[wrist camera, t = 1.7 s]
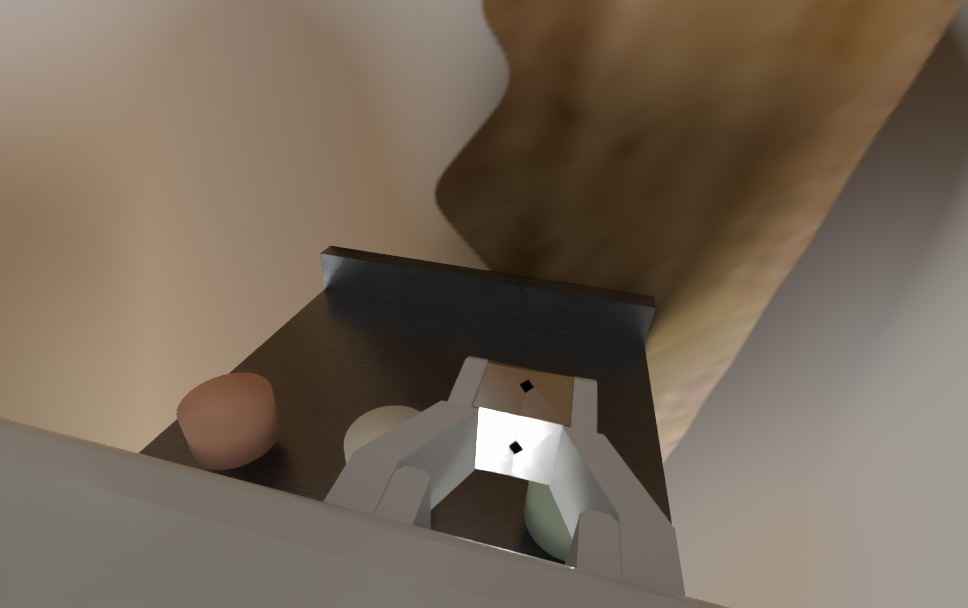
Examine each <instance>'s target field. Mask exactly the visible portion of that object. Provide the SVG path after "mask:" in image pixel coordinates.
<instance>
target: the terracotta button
mask: <svg viewBox="0 0 968 608" xmlns="http://www.w3.org/2000/svg"><path fill="white" fill-rule="evenodd" d="M177 419H178V422H179V424H180V426H181V429H182V431H183V433H184V436H185V438H186V440H187V443H188V445H189V448H190V450H191V452H192V455H193V457H194V459H195V460H196V462H197V463H198V464H200V465H201V466H203V467H206V468H209V469H214V470H226V469H232V468H237V467H240V466H243V465H246V464H248V463H250V462H252V461H254V460H256V459H258V458H259V457H261V456H262V455H264V454H265V453H266V452H267V451H269V450H270V449H271V448H272V446H273V445H274V444H275V443H276V441H277V440H278V438H279V436H280V433H281V421H280V418H279V414H278V410H277V406H276V402H275V398H274V394H273V390H272V386H271V384H270V382H269V381H268V380H267V379H266V378H264V377H262V376H260V375H257V374H254V373H231V374H226V375H222V376H219V377H216V378H213V379H210V380H208V381H206V382H204V383H202V384H200V385H199V386H197V387H196V388H194V389H193V390H191V391H190V392H189V393H188V394H187V395H186V396H185V397H184V398H183V399H182V401H181V403H180V404H179V406H178V409H177Z"/></svg>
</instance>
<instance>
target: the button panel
mask: <svg viewBox="0 0 968 608" xmlns="http://www.w3.org/2000/svg"><path fill="white" fill-rule="evenodd" d="M320 257H321V264H322V271H323V277H324V283H325V289H324V290H323V291H322V292H321V293H320V294H319V295H318V296H316V297H315V298H314V299H313V300H312V301H311V302H310V303H309V304H307V305H306V306H305V307H304V308H303V309H302V310H301V311H299V312H298V313H297V314H296V315H295V316H294V317H293V318H291V319H290V320H289V321H288V322H287V323H286V324H285V325H284V326H282V327H281V328H280V329H279V330H278V331H277V332H276V333H274V334H273V335H272V336H271V337H270V338H269V339H268V340H267V341H266V342H264V343H263V344H262V345H261V346H260V347H259V348H257V349H256V350H255V351H254V352H253V353H252V354H251V355H249V356H248V357H247V358H246V359H245V360H244V361H243V362H242V363H240V364H239V365H238V366H237V367H236V368H235V369H234V370H232V371H231V372H230V373H229V374H231V373H254V374H257V375H260V376H262V377H264V378H266V379H267V380H268V381H269V382H270V384H271V386H272V390H273V394H274V398H275V402H276V406H277V410H278V414H279V418H280V421H281V433H280V436H279V438H278V440H277V441H276V443H275V444H274V445H273V446H272V448H271V449H270V450H269V451H267V452H266V453H265V454H264V455H262V456H261V457H259V458H258V459H256V460H254V461H252V462H250V463H248V464H246V465H243V466H240V467H237V468H232V469H226V470H214V469H209V468H206V467H203V466H201V465H200V464H198V463H197V462H196V460H195V459H194V457H193V455H192V452H191V450H190V448H189V445H188V443H187V440H186V438H185V436H184V433H183V431H182V429H181V426H180V424H179V422H178V419H177V420H176V421H175V422H173V423H172V424H171V425H170V426H169V427H168V428H167V429H166V430H164V431H163V432H162V433H161V434H160V435H159V436H158V437H156V438H155V439H154V440H153V441H152V442H151V443H150V444H148V445H147V446H146V447H145V448H144V449H143V450H142V451H141V452H139V454H143V455H147V456H151V457H154V458H158V459H162V460H166V461H170V462H174V463H177V464H181V465H185V466H189V467H193V468H196V469H200V470H204V471H208V472H212V473H216V474H219V475H223V476H227V477H231V478H235V479H239V480H242V481H246V482H250V483H254V484H258V485H262V486H265V487H269V488H273V489H277V490H281V491H284V492H288V493H292V494H296V495H300V496H304V497H307V498H311V499H315V500H319V501H324V500H325V498H326V496H327V495H328V493H329V492H330V490H331V488H332V487H333V485H334V483H335V482H336V480H337V478H338V477H339V475H340V474H341V472H342V470H343V469H344V467H345V465H346V460H345V453H344V438H345V435H346V433H347V431H348V429H349V427H350V426H351V425H352V424H353V423H354V422H355V421H356V420H357V419H358V418H359V417H360V416H362V415H363V414H365V413H367V412H369V411H371V410H373V409H376V408H380V407H384V406H393V405H398V406H406V407H410V408H413V409H416V410H418V411H420V412H422V411H424V410H426V409H427V408H429V407H431V406H433V405H434V404H436V403H438V402H439V401H446V402H447V401H448V399H449V396H450V394H451V392H452V389H453V387H454V385H455V383H456V380H457V378H458V376H459V373H460V371H461V369H462V366H463V364H464V362H465V359H466V358H467V357H468V356H472V357H476V358H481V359H486V360H492V361H497V362H501V363H506V364H511V365H515V366H520V367H525V368H529V369H533V370H539V371H544V372H549V373H555V374H560V375H566V376H571V377H580V378H586V379H592V380H596V382H597V433H598V434H603V435H605V437H606V438H607V439H608V441H609V442H610V443H611V445H612V446H613V447H614V449H615V450H616V451H617V453H618V454H619V455H620V457H621V458H622V459H623V461H624V462H625V463H626V465H627V466H628V467H629V469H630V470H631V471H632V472H633V474H634V475H635V476H636V478H637V479H638V480H639V482H640V483H641V484H642V486H643V487H644V488H645V490H646V491H647V492H648V494H649V495H650V496H651V498H652V499H653V500H654V502H655V503H656V504H657V506H658V507H659V508H660V510H661V511H662V512H663V514H664V515H665V516H666V518H667V519H668V520H669V522H670V523H671V524H672V522H671V516H670V509H669V503H668V496H667V489H666V483H665V476H664V470H663V463H662V457H661V450H660V444H659V437H658V431H657V424H656V418H655V411H654V405H653V398H652V392H651V385H650V379H649V372H648V366H647V359H646V353H645V346H644V344H645V341H646V338H647V335H648V332H649V329H650V325H651V322H652V319H653V316H654V313H655V310H656V306H655V301H654V297H650V296H644V295H638V294H632V293H625V292H619V291H613V290H606V289H600V288H594V287H587V286H581V285H575V284H568V283H562V282H556V281H550V280H543V279H537V278H531V277H524V276H518V275H512V274H505V273H499V272H493V271H487V270H480V269H474V268H468V267H461V266H455V265H449V264H441V263H436V262H430V261H423V260H417V259H411V258H405V257H398V256H392V255H386V254H379V253H373V252H367V251H360V250H354V249H348V248H341V247H335V246H329V247H328V248H327V249H325V250H324V251H323V252H322V253H320ZM528 483H529V480H526V479H522V478H518V477H514V476H510V475H505V474H500V473H496V472H491V471H486V470H481V469H476V468H474V471H473V472H472V473H471V474H470V475H469V476H467V477H466V478H465V479H464V480H463V481H462V482H461V483H460V484H459V485H458V486H457V487H455V488H454V489H453V490H452V491H451V492H450V493H449V494H448V495H447V496H446V497H445V498H444V499H442V500H441V501H440V502H439V503H438V504H437V505H436V506H435V507H434V508H433V509H432V510H431V530H434V531H437V532H441V533H445V534H449V535H453V536H457V537H460V538H464V539H468V540H472V541H476V542H479V543H483V544H487V545H491V546H495V547H499V548H502V549H506V550H510V551H514V552H518V553H521V554H525V555H529V556H533V557H537V558H540V559H544V560H548V561H552V562H556V563H560V564H563V565H565V562H566V561H563V560H560V559H558V558H556V557H554V556H552V555H550V554H549V553H547V552H546V551H545V550H543V549H542V548H541V547H540V546H539V545H538V544H537V543H536V542H535V540H534V539H533V538H532V536H531V535H530V533H529V531H528V529H527V526H526V523H525V518H524V505H525V500H526V494H527V489H528Z"/></svg>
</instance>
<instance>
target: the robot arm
mask: <svg viewBox="0 0 968 608" xmlns="http://www.w3.org/2000/svg"><path fill="white" fill-rule="evenodd" d="M474 468H476V469H481V470H486V471H491V472H496V473H500V474H505V475H510V476H514V477H518V478H522V479H526V480H530V481H533V482H537V483H541V484H545V485H549V486H550V487H549V488H550V490H551V492H552V495H553V497H554V499H555V501H556V504H557V506H558V508H559V510H560V513H561V515H562V517H563V519H564V522H565V524H566V526H567V528H568V531H569V533H570V535H571V537H572V542H571V545H570V549H569V552H568V556H567V559H566V562H565V565H563V564H560V563H556V562H552V561H548V560H544V559H540V558H537V557H533V556H529V555H525V554H521V553H518V552H514V551H510V550H506V549H502V548H499V547H495V546H491V545H487V544H483V543H479V542H476V541H472V540H468V539H464V538H460V537H457V536H453V535H449V534H445V533H441V532H437V531H434V530H431V510H432V509H433V508H434V507H435V506H436V505H437V504H438V503H439V502H440V501H441V500H442V499H444V498H445V497H446V496H447V495H448V494H449V493H450V492H451V491H452V490H453V489H454V488H455V487H457V486H458V485H459V484H460V483H461V482H462V481H463V480H464V479H465V478H466V477H467V476H469V475H470V474H471V473H472V472H473V471H474ZM0 608H728V607H724V606H721V605H717V604H713V603H709V602H705V601H702V600H698V599H694V598H690V597H686V596H685V591H684V585H683V578H682V572H681V566H680V559H679V553H678V546H677V540H676V533H675V528H674V527H673V526H672V524H671V523H670V522H669V520H668V519H667V518H666V516H665V515H664V514H663V512H662V511H661V510H660V508H659V507H658V506H657V504H656V503H655V502H654V500H653V499H652V498H651V496H650V495H649V494H648V492H647V491H646V490H645V488H644V487H643V486H642V484H641V483H640V482H639V480H638V479H637V478H636V476H635V475H634V474H633V472H632V471H631V470H630V469H629V467H628V466H627V465H626V463H625V462H624V461H623V459H622V458H621V457H620V455H619V454H618V453H617V451H616V450H615V449H614V447H613V446H612V445H611V443H610V442H609V441H608V439H607V438H606V437H605V435H603V434H598V433H597V382H596V380H592V379H586V378H580V377H571V376H566V375H560V374H555V373H549V372H544V371H539V370H533V369H529V368H525V367H520V366H515V365H511V364H506V363H501V362H497V361H492V360H486V359H481V358H476V357H472V356H468V357H467V358H466V359H465V362H464V364H463V366H462V369H461V371H460V373H459V376H458V378H457V380H456V383H455V385H454V387H453V389H452V392H451V394H450V396H449V399H448V401H447V402H446V401H439V402H438V403H436V404H434V405H433V406H431V407H429V408H427V409H426V410H424V411H422V412H421V413H419V414H417V415H415V416H414V417H412V418H410V419H409V420H407V421H405V422H403V423H402V424H400V425H398V426H397V427H395V428H393V429H391V430H390V431H388V432H386V433H385V434H383V435H381V436H379V437H378V438H376V439H374V440H373V441H371V442H369V443H367V444H366V445H364V446H362V447H361V448H359V449H357V450H356V451H354V452H353V454H352V456H351V457H350V459H349V461H348V462H347V464H346V465H345V467H344V469H343V470H342V472H341V474H340V475H339V477H338V478H337V480H336V482H335V483H334V485H333V487H332V488H331V490H330V492H329V493H328V495H327V496H326V498H325V500H324V501H319V500H315V499H311V498H307V497H304V496H300V495H296V494H292V493H288V492H284V491H281V490H277V489H273V488H269V487H265V486H262V485H258V484H254V483H250V482H246V481H242V480H239V479H235V478H231V477H227V476H223V475H219V474H216V473H212V472H208V471H204V470H200V469H196V468H193V467H189V466H185V465H181V464H177V463H174V462H170V461H166V460H162V459H158V458H154V457H151V456H147V455H143V454H139V453H135V452H131V451H127V450H123V449H120V448H116V447H112V446H108V445H104V444H100V443H97V442H93V441H89V440H85V439H81V438H77V437H74V436H70V435H66V434H62V433H59V432H55V431H51V430H47V429H43V428H39V427H35V426H32V425H28V424H24V423H20V422H16V421H12V420H9V419H5V418H1V417H0Z"/></svg>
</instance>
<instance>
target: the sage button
mask: <svg viewBox="0 0 968 608" xmlns="http://www.w3.org/2000/svg"><path fill="white" fill-rule="evenodd" d="M549 487H550V486H549V485H545V484H541V483H537V482H533V481H530V480H529V483H528V489H527V494H526V500H525V505H524V518H525V523H526V526H527V529H528V531H529V533H530V535H531V536H532V538H533V539H534V540H535V542H536V543H537V544H538V545H539V546H540V547H541V548H542V549H543V550H545V551H546V552H547V553H549V554H550V555H552V556H554V557H556V558H558V559H560V560H563V561H566V559H567V556H568V552H569V549H570V545H571V542H572V537H571V535H570V533H569V531H568V528H567V526H566V524H565V522H564V519H563V517H562V515H561V513H560V510H559V508H558V506H557V504H556V501H555V499H554V497H553V495H552V492H551V490H550V488H549Z"/></svg>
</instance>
